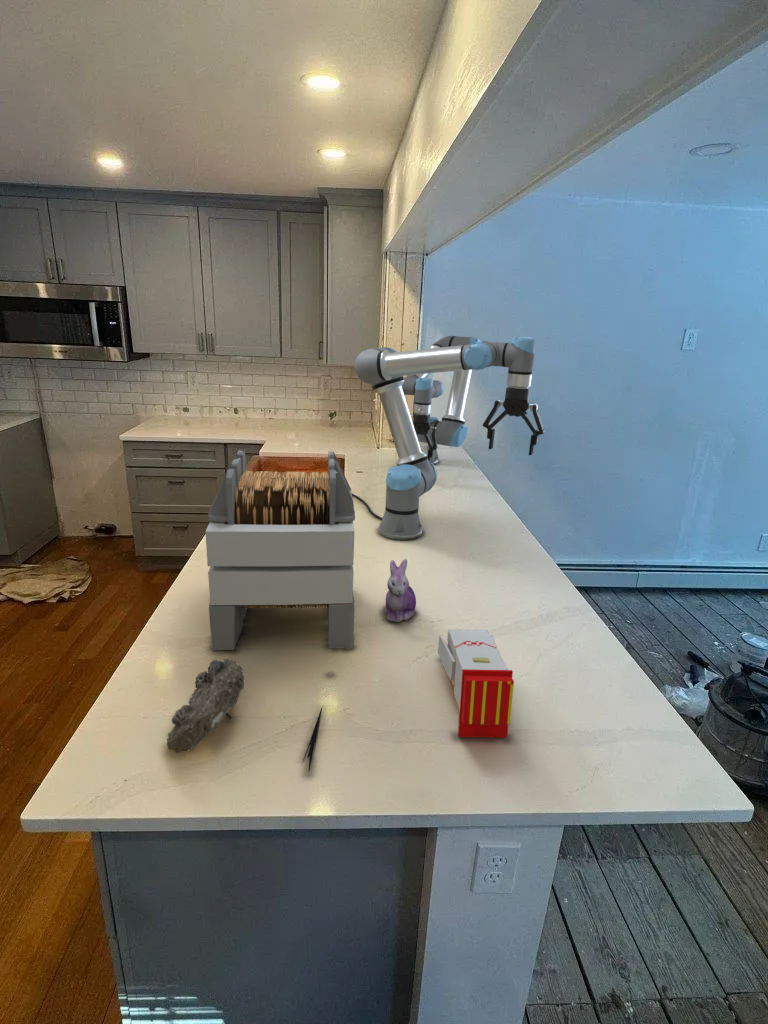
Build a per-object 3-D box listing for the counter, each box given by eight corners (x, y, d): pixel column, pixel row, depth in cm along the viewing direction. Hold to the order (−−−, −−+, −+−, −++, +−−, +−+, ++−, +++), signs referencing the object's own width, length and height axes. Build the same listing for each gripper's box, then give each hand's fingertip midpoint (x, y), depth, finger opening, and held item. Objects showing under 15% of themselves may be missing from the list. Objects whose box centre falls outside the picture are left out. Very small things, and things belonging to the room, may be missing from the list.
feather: (331, 679, 122) (336, 673, 122) (307, 777, 96) (313, 769, 95) (324, 675, 122) (329, 669, 121) (298, 772, 95) (304, 764, 95)
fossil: (192, 660, 117) (244, 628, 112) (224, 691, 120) (276, 661, 115) (142, 746, 98) (202, 712, 93) (182, 779, 101) (242, 748, 96)
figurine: (392, 627, 141) (395, 572, 136) (374, 608, 149) (376, 556, 144) (425, 619, 145) (429, 566, 140) (405, 601, 154) (408, 550, 149)
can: (431, 470, 259) (433, 444, 255) (416, 472, 255) (418, 446, 251) (420, 466, 266) (421, 441, 262) (405, 468, 261) (406, 442, 257)
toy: (488, 613, 130) (523, 677, 101) (484, 667, 133) (517, 744, 104) (435, 612, 130) (455, 676, 101) (432, 666, 133) (451, 743, 103)
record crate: (231, 583, 159) (223, 441, 145) (347, 582, 163) (350, 443, 149) (209, 653, 127) (196, 479, 114) (354, 649, 131) (359, 481, 117)
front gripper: (559, 389, 181) (550, 454, 188) (484, 382, 191) (478, 444, 198) (555, 392, 174) (545, 459, 182) (477, 384, 185) (471, 448, 192)
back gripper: (396, 412, 251) (394, 462, 258) (444, 417, 246) (440, 467, 253) (400, 410, 258) (398, 458, 265) (447, 414, 253) (443, 463, 260)
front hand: (510, 451), depth 190 cm, fingers open, 13 cm apart
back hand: (418, 462), depth 259 cm, fingers closed on can, 9 cm apart
